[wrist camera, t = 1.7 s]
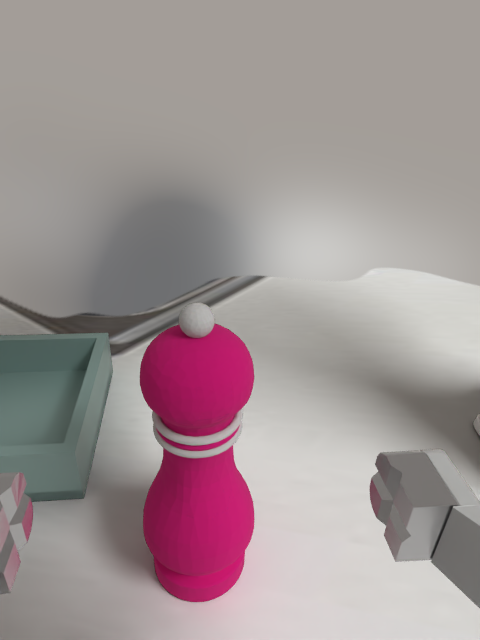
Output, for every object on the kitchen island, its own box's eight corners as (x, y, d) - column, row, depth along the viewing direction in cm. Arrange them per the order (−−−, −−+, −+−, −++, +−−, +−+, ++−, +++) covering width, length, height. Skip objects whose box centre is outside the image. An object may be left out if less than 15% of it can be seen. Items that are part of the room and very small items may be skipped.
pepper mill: (176, 635, 27) (160, 363, 18) (131, 542, 32) (98, 292, 23) (271, 572, 31) (302, 317, 21) (217, 498, 36) (220, 265, 26)
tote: (112, 371, 50) (108, 332, 48) (83, 498, 36) (74, 452, 33) (-50, 376, 48) (-64, 337, 46) (-152, 513, 34) (-180, 465, 31)
